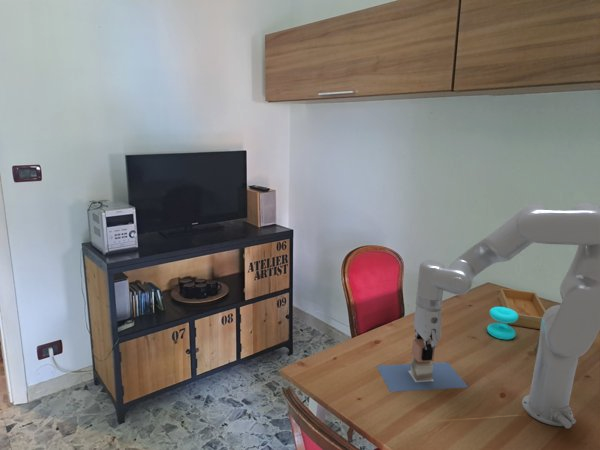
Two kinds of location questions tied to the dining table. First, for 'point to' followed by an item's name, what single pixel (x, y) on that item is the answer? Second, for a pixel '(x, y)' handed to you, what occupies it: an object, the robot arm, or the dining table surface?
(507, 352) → the dining table surface
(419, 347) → the terracotta block
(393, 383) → the board
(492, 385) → the dining table surface
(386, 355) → the dining table surface
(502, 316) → the donuts
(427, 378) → the cream block
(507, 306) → the tray
